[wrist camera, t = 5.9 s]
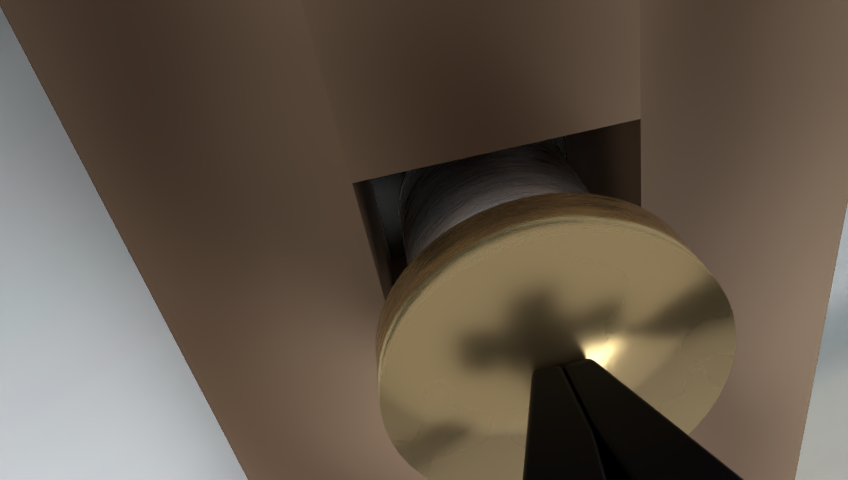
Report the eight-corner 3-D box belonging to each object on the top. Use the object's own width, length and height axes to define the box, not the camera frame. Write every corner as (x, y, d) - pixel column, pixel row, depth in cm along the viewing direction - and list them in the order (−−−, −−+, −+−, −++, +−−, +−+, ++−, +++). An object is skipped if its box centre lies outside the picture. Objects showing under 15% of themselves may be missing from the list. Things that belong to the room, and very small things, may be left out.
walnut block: (742, -207, 12) (926, -216, 8) (692, 574, 26) (752, 701, 23) (97, -63, 12) (-8, -7, 8) (394, 640, 26) (404, 778, 23)
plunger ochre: (601, 57, 12) (751, 191, 8) (610, 273, 15) (724, 461, 11) (335, 117, 12) (337, 283, 8) (392, 322, 15) (417, 529, 11)
